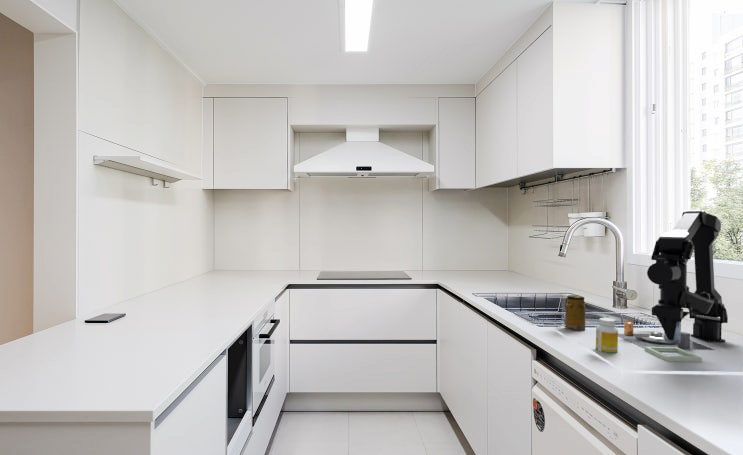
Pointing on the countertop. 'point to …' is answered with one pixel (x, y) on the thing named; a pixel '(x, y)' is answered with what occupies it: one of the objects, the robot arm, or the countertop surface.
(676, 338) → the blue gray block
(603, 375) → the countertop surface
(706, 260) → the robot arm
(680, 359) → the tray
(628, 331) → the crank
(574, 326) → the condiment
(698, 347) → the crank base
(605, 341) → the supplement bottle
